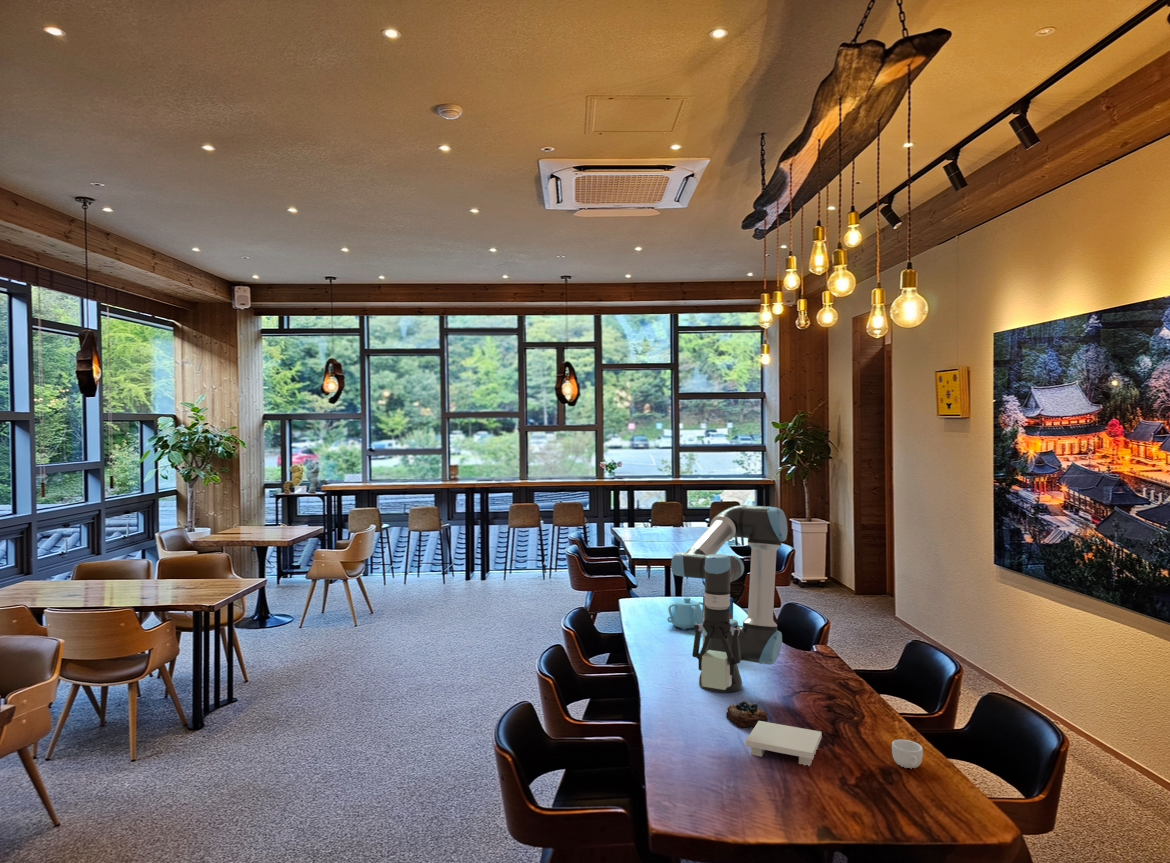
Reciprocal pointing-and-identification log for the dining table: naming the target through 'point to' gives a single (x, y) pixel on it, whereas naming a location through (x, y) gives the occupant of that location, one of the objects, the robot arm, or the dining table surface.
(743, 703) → the pastry
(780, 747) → the serving stand
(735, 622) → the robot arm
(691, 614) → the decorative pot
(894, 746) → the teacup
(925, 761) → the dining table surface
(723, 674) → the sage block
